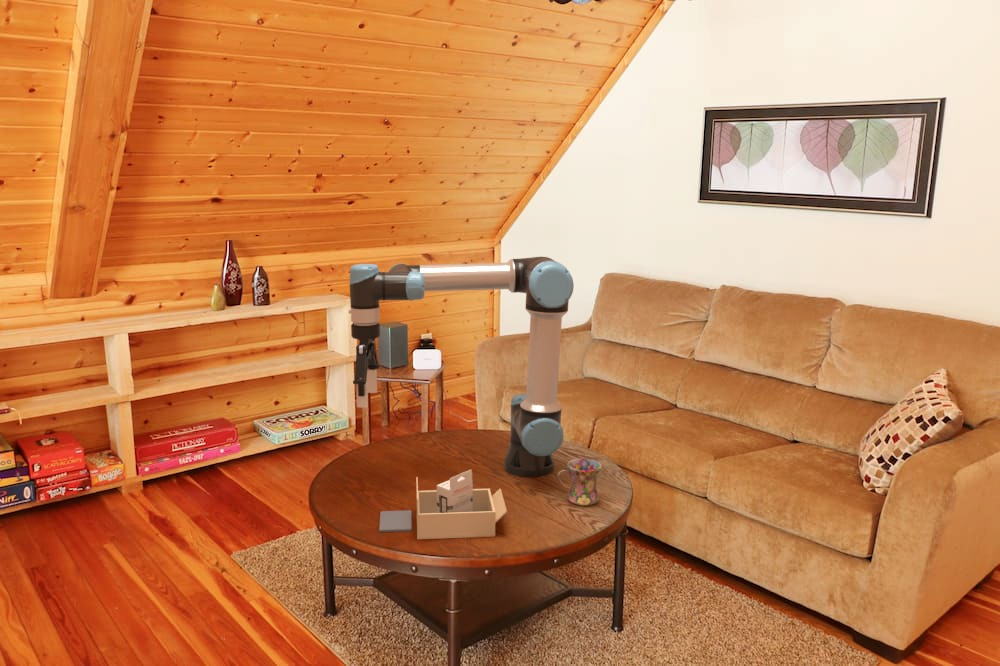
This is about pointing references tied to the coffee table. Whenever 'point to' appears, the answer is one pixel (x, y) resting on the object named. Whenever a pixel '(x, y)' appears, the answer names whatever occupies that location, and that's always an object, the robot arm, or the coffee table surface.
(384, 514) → the felt pad
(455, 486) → the ink box
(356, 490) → the coffee table surface
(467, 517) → the carton
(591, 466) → the mug
